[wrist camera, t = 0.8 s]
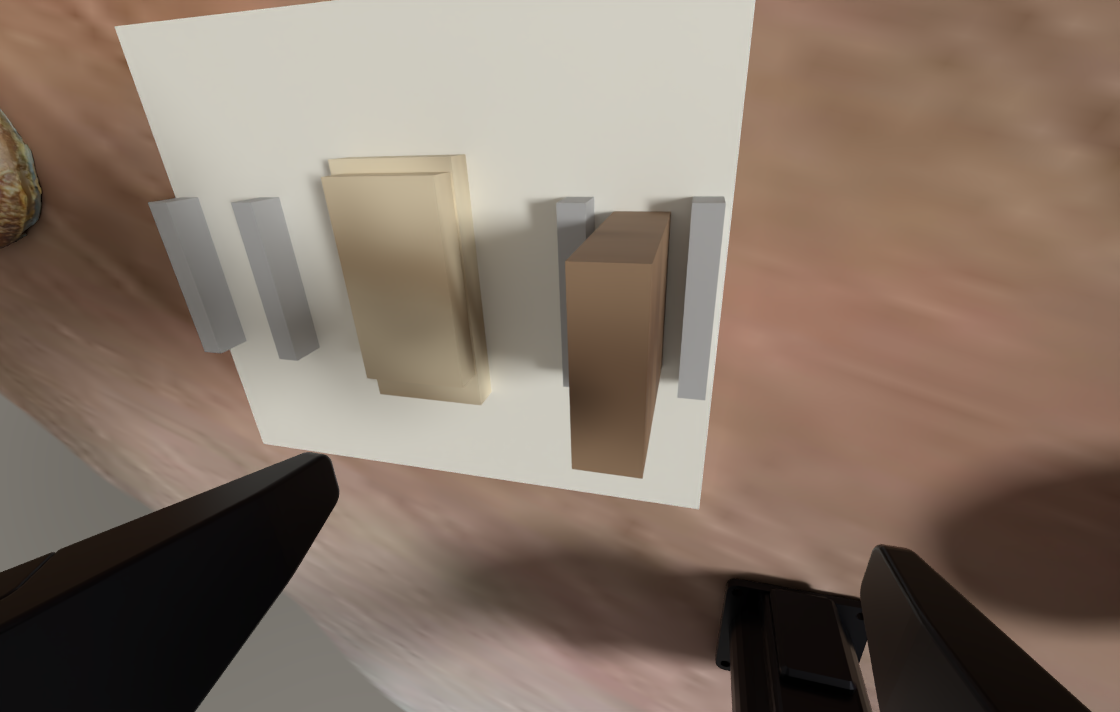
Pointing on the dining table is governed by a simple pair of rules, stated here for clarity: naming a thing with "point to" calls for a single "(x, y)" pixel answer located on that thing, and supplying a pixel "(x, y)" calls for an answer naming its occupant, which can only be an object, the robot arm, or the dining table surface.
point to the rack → (495, 192)
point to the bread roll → (16, 185)
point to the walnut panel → (616, 340)
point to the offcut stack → (412, 273)
